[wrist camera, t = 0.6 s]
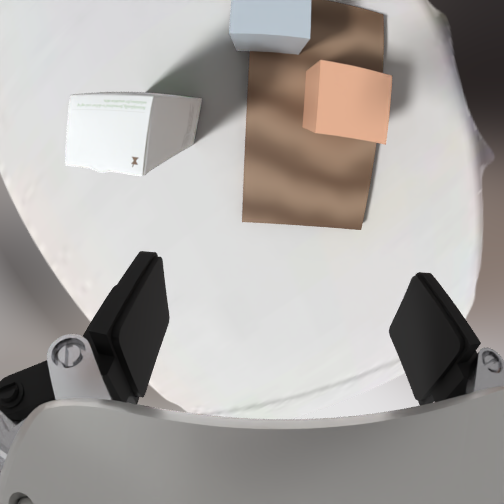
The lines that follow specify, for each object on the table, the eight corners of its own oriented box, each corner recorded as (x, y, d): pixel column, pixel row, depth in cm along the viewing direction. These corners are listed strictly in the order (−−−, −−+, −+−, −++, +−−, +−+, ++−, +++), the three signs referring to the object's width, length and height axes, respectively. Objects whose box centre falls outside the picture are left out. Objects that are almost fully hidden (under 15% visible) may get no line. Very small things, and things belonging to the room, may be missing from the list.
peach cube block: (306, 71, 26) (320, 59, 19) (363, 81, 26) (392, 75, 19) (302, 127, 30) (315, 133, 23) (358, 135, 30) (385, 144, 23)
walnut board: (253, -4, 22) (253, -8, 21) (378, 17, 22) (383, 14, 21) (242, 217, 37) (242, 221, 36) (357, 225, 37) (360, 229, 36)
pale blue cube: (239, 1, 22) (233, -26, 15) (300, 5, 22) (311, -21, 15) (236, 50, 25) (229, 33, 18) (298, 54, 25) (310, 38, 18)
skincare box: (203, 98, 30) (160, 92, 16) (193, 149, 33) (147, 181, 19) (141, 92, 29) (68, 91, 15) (133, 140, 32) (61, 168, 18)
